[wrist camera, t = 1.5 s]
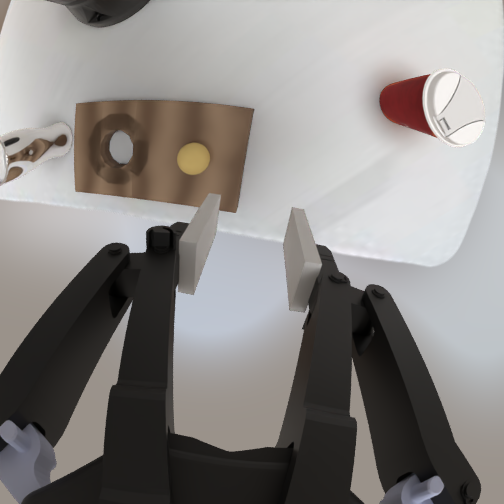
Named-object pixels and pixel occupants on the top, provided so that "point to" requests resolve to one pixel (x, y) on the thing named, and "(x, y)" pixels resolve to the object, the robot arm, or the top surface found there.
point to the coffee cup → (437, 106)
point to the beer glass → (31, 149)
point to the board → (161, 150)
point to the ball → (193, 158)
